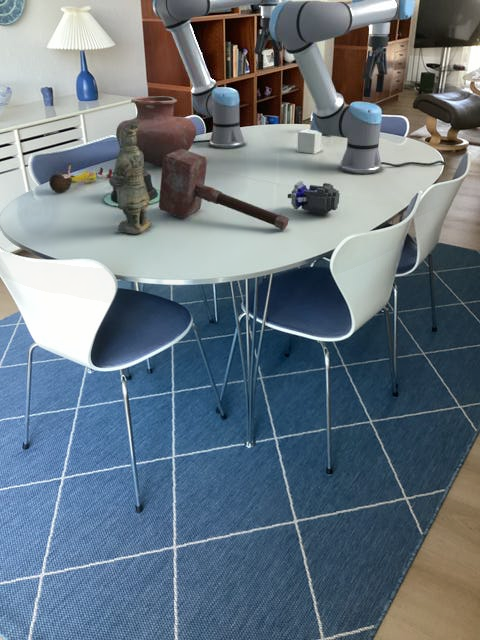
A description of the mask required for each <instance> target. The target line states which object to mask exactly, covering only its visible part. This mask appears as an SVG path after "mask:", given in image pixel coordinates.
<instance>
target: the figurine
mask: <svg viewBox="0 0 480 640" xmlns="http://www.w3.org/2000/svg"><path fill="white" fill-rule="evenodd" d="M71 169H72V167H71V164H70V165H69V166H68V169H67V174H66V173H63V174H61V173H59V172H56V173H53V174H52V175H51V176H50V177H49V181H48V182H49V187H50V189H51V190H52V191H54V192H56V193H64V192H67V191H68V190H69V189H70V188H71V186H72V184H85V183H86V182H92V183H93V182H96V180H95V179H98V178H99V179H110V178H111V176H112V173H113V170H112V168H110V169H108V173H107V174H103V172H104V168H103V167H102V166H101V167H100V168H99V171H98V172H96V171H95V170H94V169H91V170H89V171H85V172H83V173H80V174H76V175H73V174H72V175H71Z"/></svg>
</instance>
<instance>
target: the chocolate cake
mask: <svg viewBox="0 0 480 640" xmlns="http://www.w3.org/2000/svg"><path fill="white" fill-rule="evenodd" d="M113 175H114V171H112V175H111V176H113ZM143 178H144V182H145V184H146V188H147V192H148V195H149V197H150V204H154V203H157V202H159V198H160V188H156V187H154V185H153V182H152V174H151V172H149V171H148V170H146V169H144V168H143ZM103 200H104V202H105V203H106V204H108V205H109V206H115V207H118V202H117V192H116V189H115V188H114V187H112V191H111V193H108V194H107V195H106V196H104V198H103ZM150 204H149V205H150Z"/></svg>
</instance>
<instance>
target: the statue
mask: <svg viewBox="0 0 480 640" xmlns="http://www.w3.org/2000/svg"><path fill="white" fill-rule="evenodd" d="M138 127H139V123H138V122H137V121H133V122H131V123H128V124H127V125H126V126H125V127H124V128H123V129H121V130H120V133H119V138H118V139H117V141H118V140H119V141H118V146H119V152H118V154H117V156H116V160H115V164H114V169H113V172H114V175H113V176H112V175H111V178H108V179H109V180H108V183H109V184H110V186H111V187H112V188H113V187H114V188H115V189H116V192H117V202H118V206H117V209H119V210H122V213H123V214H124V215H125V218H126V219H125V220H122V221H120V222H119V224H118V225H117V231H118V232H121V233H126V234H134V235H136V234H142V233H143V232H145V231H146V230H147V229H148V228H150V227H151V226H152V225H153V223H152V220H150V219H148V216H147V214H148V213H147V212H148V211H147V209H148V206H149V205H150V197H149V195H148V192H147V188H146V184H145V182H144V178H143V169H144V165H145V162H144V156H143V153H142V151H141V150H139V149H138V147H137V146H136V143H137V138H136V131H137V130H138Z"/></svg>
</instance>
